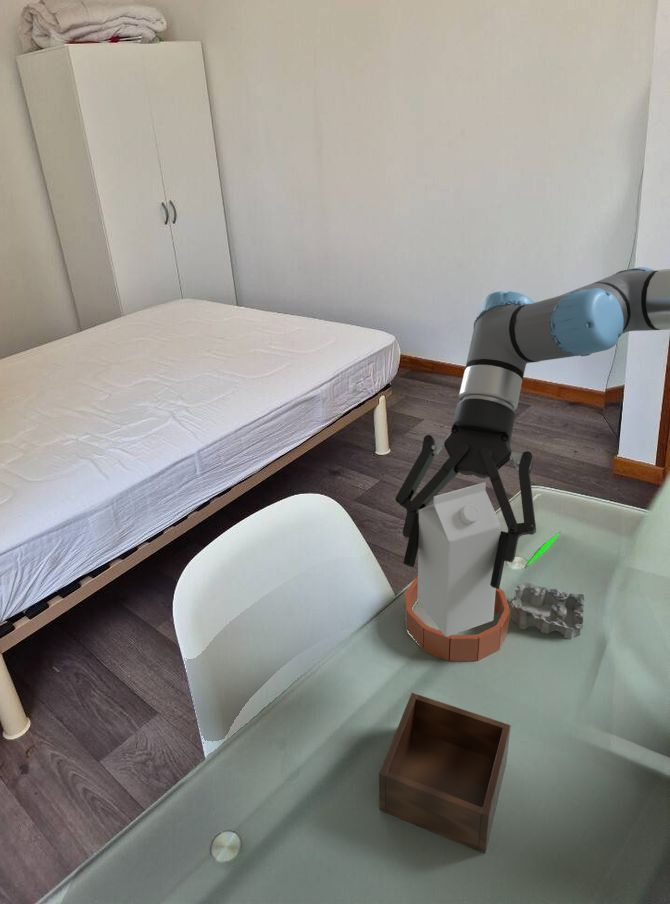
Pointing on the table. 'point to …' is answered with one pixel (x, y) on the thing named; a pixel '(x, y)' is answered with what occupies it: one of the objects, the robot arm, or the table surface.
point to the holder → (445, 771)
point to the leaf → (543, 549)
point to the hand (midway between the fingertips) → (450, 575)
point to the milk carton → (458, 559)
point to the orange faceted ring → (457, 644)
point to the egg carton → (548, 609)
